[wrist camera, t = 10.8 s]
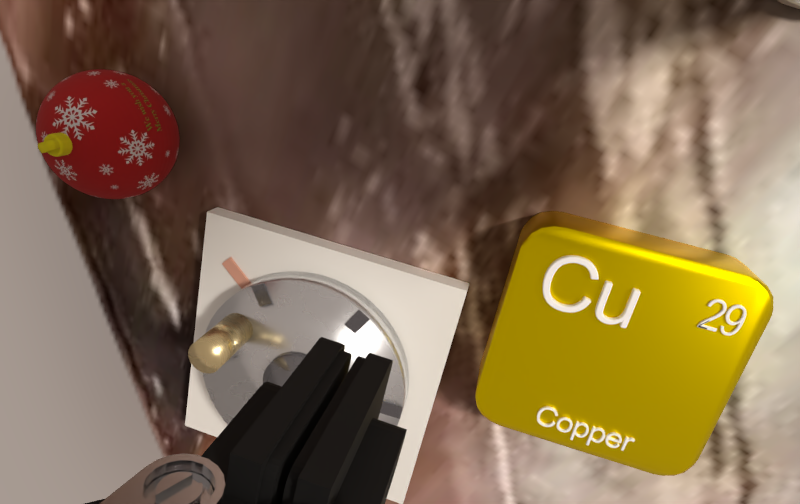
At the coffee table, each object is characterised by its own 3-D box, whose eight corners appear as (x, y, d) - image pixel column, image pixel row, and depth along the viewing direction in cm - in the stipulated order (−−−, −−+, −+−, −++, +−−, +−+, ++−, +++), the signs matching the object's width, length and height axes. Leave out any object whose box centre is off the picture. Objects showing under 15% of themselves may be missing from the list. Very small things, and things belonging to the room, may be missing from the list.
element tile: (473, 384, 43) (467, 421, 38) (529, 201, 37) (529, 220, 33) (671, 445, 41) (688, 492, 36) (760, 261, 35) (793, 289, 31)
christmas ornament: (219, 172, 41) (129, 202, 32) (127, 195, 44) (19, 230, 34) (179, 54, 39) (69, 51, 30) (84, 86, 42) (-44, 91, 32)
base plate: (469, 283, 40) (466, 292, 38) (406, 491, 47) (402, 506, 45) (217, 207, 42) (205, 212, 41) (194, 415, 49) (183, 426, 48)
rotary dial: (453, 375, 40) (439, 430, 34) (324, 487, 46) (294, 549, 40) (289, 227, 39) (246, 257, 33) (180, 360, 45) (127, 405, 39)
